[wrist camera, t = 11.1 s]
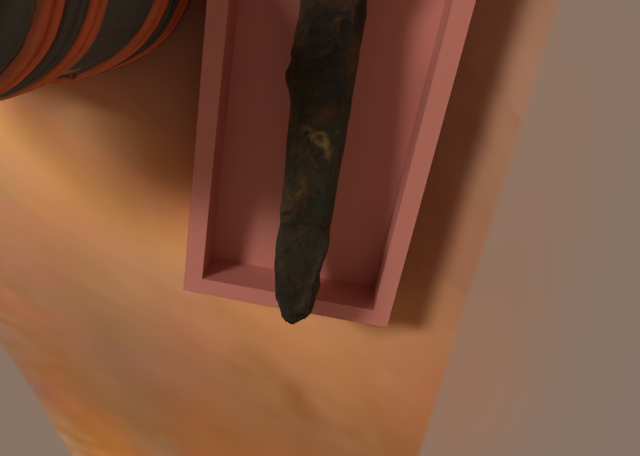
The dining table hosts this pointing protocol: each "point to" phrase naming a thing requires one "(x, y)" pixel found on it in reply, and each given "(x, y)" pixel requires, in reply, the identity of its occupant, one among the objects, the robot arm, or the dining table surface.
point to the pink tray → (358, 158)
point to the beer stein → (77, 38)
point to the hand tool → (315, 144)
